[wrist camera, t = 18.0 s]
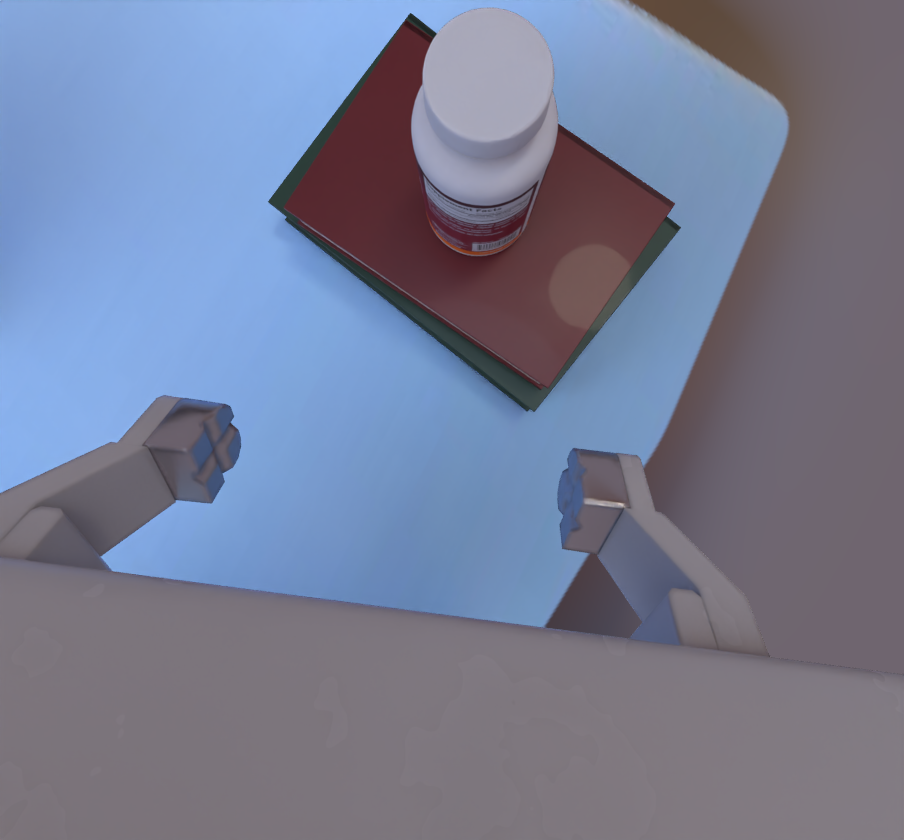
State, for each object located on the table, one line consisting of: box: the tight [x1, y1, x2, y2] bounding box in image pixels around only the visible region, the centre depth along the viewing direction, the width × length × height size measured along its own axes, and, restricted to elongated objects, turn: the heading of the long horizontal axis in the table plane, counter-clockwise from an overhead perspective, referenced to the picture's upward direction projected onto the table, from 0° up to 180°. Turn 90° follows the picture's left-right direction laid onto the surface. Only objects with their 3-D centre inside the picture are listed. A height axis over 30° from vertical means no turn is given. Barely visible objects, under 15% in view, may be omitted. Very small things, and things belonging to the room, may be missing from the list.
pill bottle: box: [411, 8, 558, 256], centre depth 22 cm, size 6×6×11 cm
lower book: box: [268, 13, 681, 412], centre depth 31 cm, size 22×15×3 cm
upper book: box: [284, 20, 675, 390], centre depth 29 cm, size 19×13×3 cm
